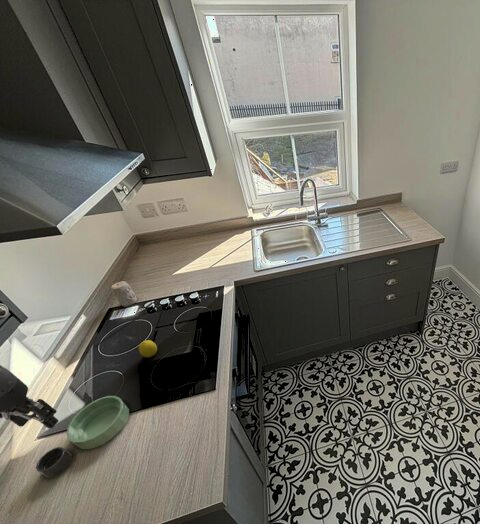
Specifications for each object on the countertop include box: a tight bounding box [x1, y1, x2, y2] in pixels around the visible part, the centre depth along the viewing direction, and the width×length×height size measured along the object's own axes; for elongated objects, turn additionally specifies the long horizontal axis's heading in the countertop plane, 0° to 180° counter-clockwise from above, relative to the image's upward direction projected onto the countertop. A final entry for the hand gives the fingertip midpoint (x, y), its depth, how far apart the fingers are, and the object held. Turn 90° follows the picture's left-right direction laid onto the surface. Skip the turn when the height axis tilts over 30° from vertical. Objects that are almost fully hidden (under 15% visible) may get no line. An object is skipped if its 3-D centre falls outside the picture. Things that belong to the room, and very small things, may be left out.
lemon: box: [138, 339, 158, 358], centre depth 113 cm, size 6×6×8 cm
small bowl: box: [35, 446, 73, 478], centre depth 82 cm, size 6×6×4 cm
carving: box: [110, 280, 137, 308], centre depth 138 cm, size 6×8×12 cm
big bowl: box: [66, 395, 130, 450], centre depth 91 cm, size 14×14×5 cm
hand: (39, 423), depth 77 cm, fingers open, 8 cm apart
